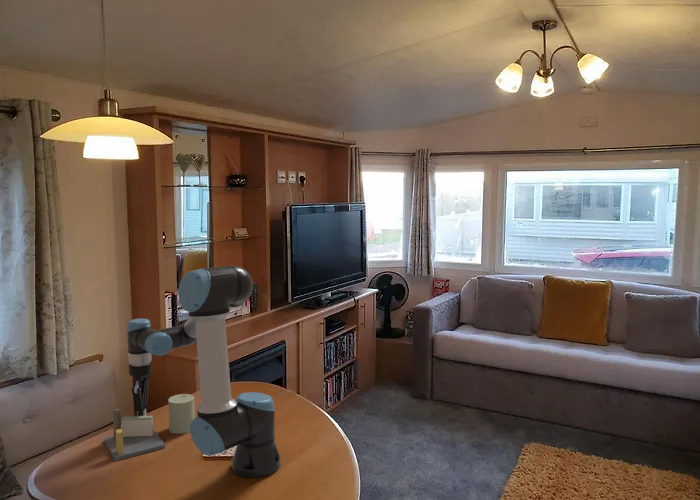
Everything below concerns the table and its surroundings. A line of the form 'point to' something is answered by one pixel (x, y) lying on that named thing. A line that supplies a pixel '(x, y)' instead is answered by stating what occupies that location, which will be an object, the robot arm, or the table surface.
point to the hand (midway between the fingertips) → (142, 426)
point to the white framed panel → (137, 426)
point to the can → (181, 413)
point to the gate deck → (130, 441)
